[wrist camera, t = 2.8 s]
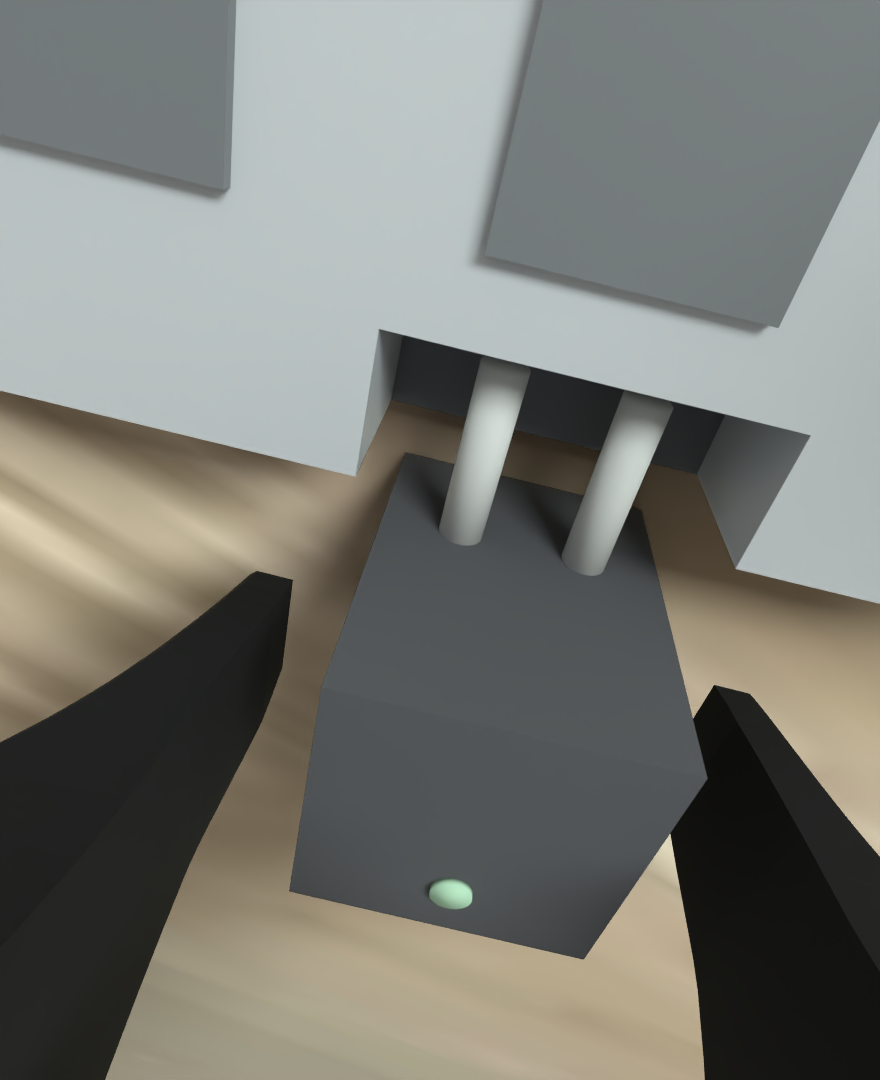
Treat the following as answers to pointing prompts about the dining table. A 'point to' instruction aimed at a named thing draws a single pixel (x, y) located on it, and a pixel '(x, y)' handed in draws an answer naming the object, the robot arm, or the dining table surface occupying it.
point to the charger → (503, 696)
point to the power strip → (464, 233)
